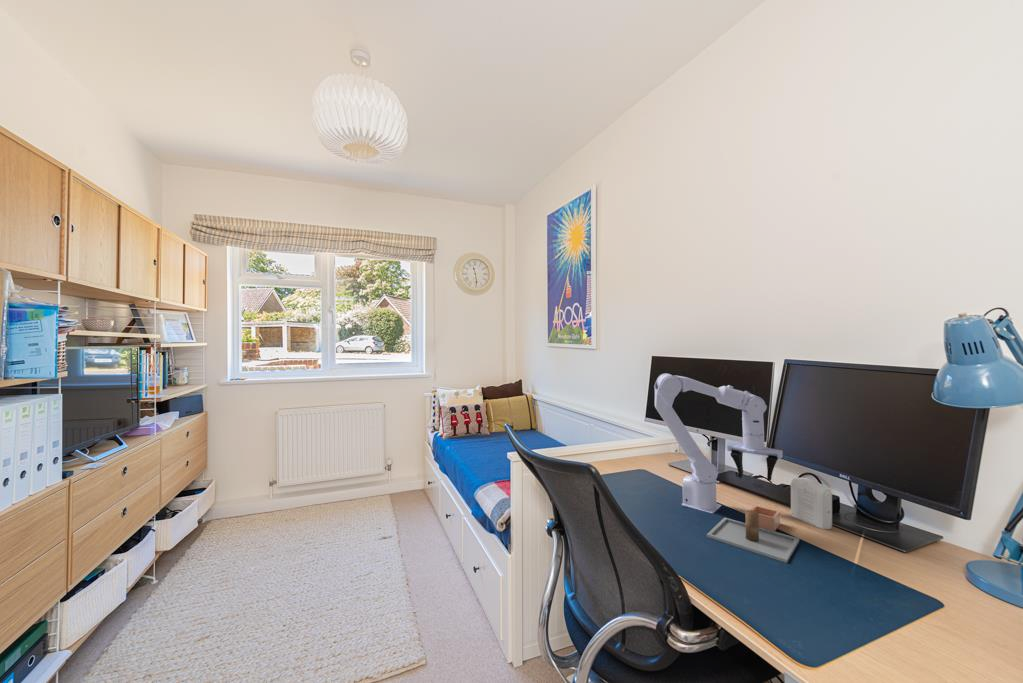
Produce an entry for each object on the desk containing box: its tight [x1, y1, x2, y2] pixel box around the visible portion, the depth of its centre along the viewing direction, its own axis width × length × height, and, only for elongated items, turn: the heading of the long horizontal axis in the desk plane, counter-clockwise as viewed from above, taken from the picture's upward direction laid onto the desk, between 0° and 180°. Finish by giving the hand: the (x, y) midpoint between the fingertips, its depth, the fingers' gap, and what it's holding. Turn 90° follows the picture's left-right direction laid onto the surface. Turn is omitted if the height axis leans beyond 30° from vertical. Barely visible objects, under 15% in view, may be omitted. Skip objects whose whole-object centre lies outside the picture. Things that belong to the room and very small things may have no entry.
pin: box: [744, 509, 759, 542], centre depth 105 cm, size 3×3×7 cm
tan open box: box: [750, 504, 781, 532], centre depth 113 cm, size 6×6×4 cm
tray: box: [706, 517, 800, 564], centre depth 105 cm, size 18×14×1 cm
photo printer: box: [790, 477, 833, 530], centre depth 114 cm, size 10×4×12 cm, turn 17°
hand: (754, 477), depth 123 cm, fingers open, 7 cm apart
